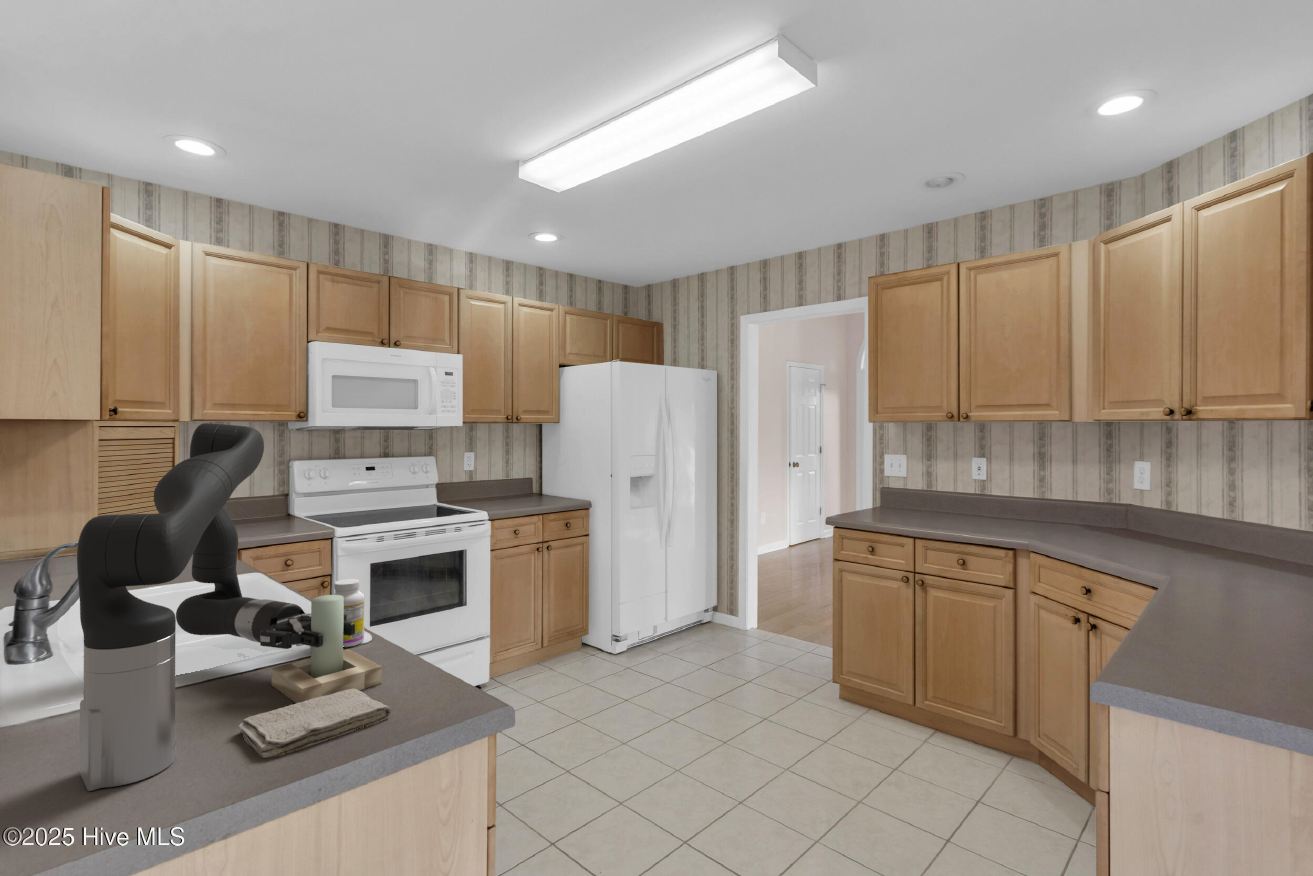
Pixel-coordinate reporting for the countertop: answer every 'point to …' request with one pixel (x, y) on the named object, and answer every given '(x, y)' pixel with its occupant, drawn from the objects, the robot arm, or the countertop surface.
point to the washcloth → (311, 722)
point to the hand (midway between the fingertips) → (337, 634)
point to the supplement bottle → (352, 609)
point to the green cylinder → (327, 634)
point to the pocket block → (325, 677)
